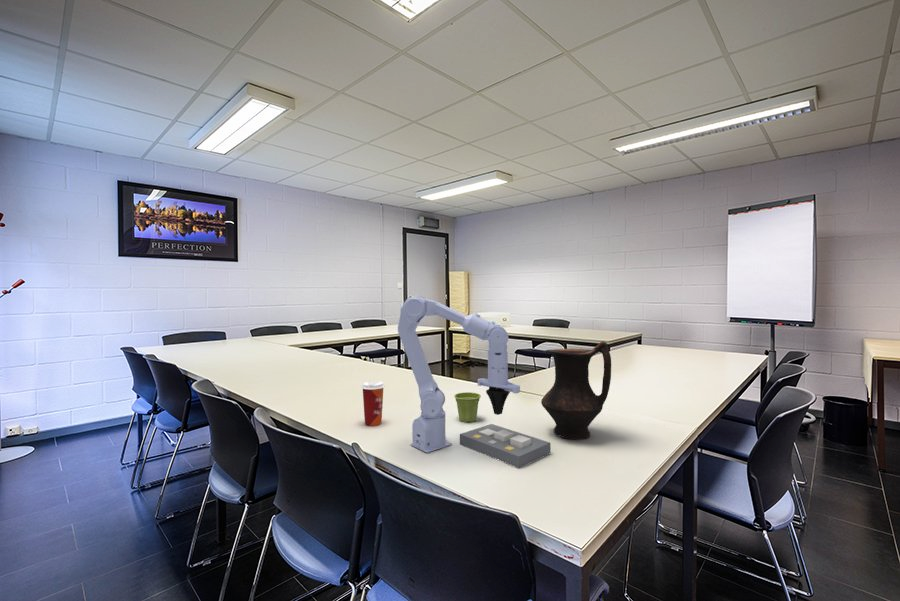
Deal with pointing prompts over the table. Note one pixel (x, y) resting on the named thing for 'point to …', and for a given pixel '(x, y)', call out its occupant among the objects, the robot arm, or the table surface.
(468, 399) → the plant pot
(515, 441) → the end button
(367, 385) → the paper cup
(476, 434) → the button board
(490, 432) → the end button
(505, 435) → the middle button
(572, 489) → the table surface
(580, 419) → the jug
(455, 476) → the table surface
